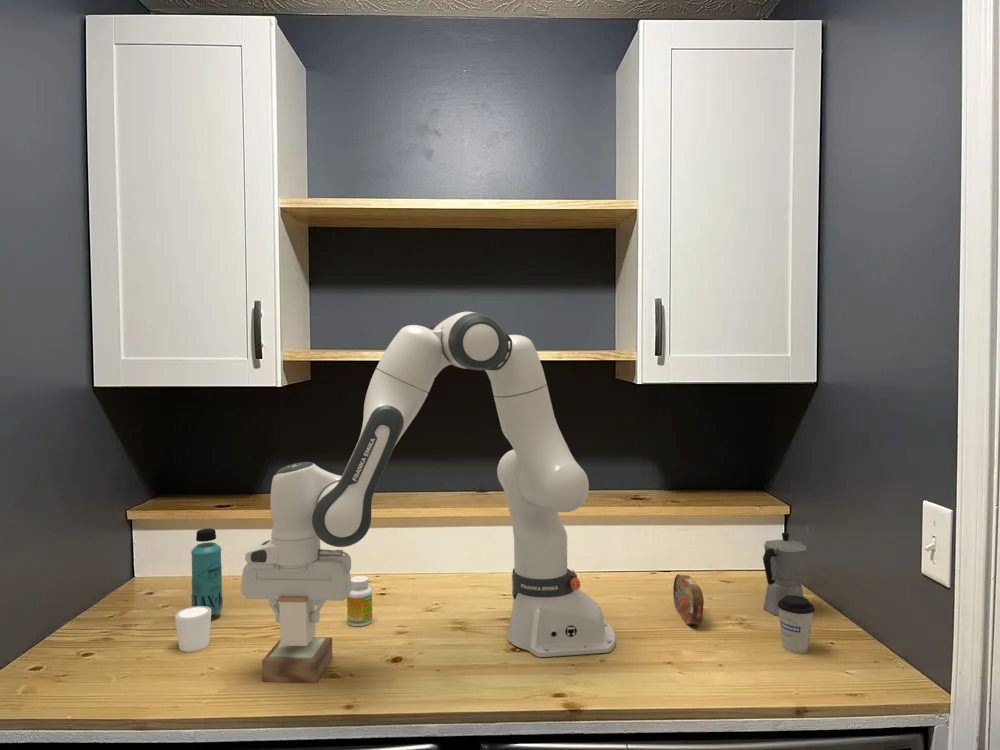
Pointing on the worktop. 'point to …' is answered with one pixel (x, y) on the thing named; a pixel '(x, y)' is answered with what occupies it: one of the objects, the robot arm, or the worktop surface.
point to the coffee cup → (795, 623)
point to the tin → (688, 599)
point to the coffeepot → (783, 570)
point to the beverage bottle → (207, 572)
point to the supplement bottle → (359, 602)
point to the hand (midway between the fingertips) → (297, 621)
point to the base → (297, 661)
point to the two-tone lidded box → (296, 620)
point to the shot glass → (193, 628)
